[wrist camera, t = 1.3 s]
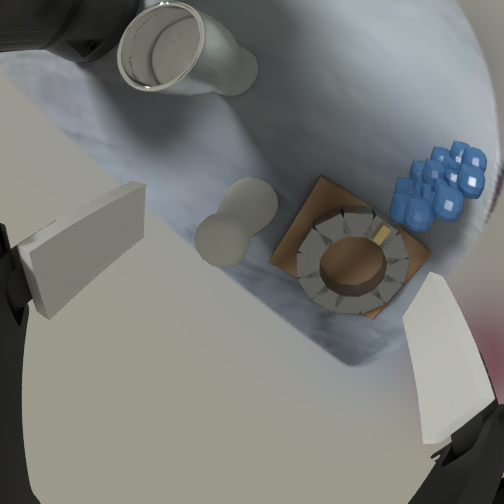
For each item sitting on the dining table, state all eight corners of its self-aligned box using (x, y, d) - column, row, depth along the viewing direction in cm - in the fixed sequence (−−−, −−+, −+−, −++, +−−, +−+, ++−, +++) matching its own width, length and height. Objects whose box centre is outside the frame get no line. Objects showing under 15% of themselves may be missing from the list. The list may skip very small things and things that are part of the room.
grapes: (398, 227, 29) (427, 285, 19) (367, 179, 28) (390, 218, 18) (471, 175, 24) (529, 210, 13) (444, 124, 22) (503, 135, 12)
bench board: (270, 257, 35) (268, 261, 34) (320, 174, 29) (320, 177, 28) (370, 313, 35) (371, 319, 34) (428, 248, 29) (430, 252, 28)
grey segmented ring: (280, 270, 34) (275, 284, 32) (336, 184, 28) (337, 191, 25) (360, 315, 34) (362, 331, 32) (422, 243, 28) (430, 256, 25)
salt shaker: (223, 186, 32) (168, 230, 21) (264, 163, 30) (226, 196, 19) (248, 228, 34) (208, 289, 23) (290, 208, 32) (268, 265, 20)
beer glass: (258, 37, 23) (202, -16, 10) (266, 94, 26) (214, 78, 13) (198, 50, 25) (111, 22, 12) (205, 104, 28) (119, 107, 15)
